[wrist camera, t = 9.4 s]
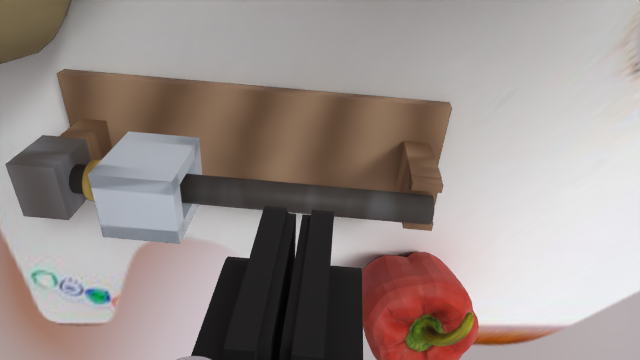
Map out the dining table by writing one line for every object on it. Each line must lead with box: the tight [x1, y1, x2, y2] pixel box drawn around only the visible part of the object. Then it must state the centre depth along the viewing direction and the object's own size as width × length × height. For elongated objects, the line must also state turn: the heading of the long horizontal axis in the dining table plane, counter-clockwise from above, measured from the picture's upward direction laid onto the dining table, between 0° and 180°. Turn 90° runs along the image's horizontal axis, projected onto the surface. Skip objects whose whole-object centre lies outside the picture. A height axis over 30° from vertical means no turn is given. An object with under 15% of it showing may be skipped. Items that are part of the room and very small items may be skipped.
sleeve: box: [88, 132, 202, 244], centre depth 30 cm, size 5×5×6 cm
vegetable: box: [362, 252, 479, 360], centre depth 38 cm, size 11×10×10 cm
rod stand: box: [6, 69, 452, 231], centre depth 32 cm, size 29×10×9 cm, turn 86°
